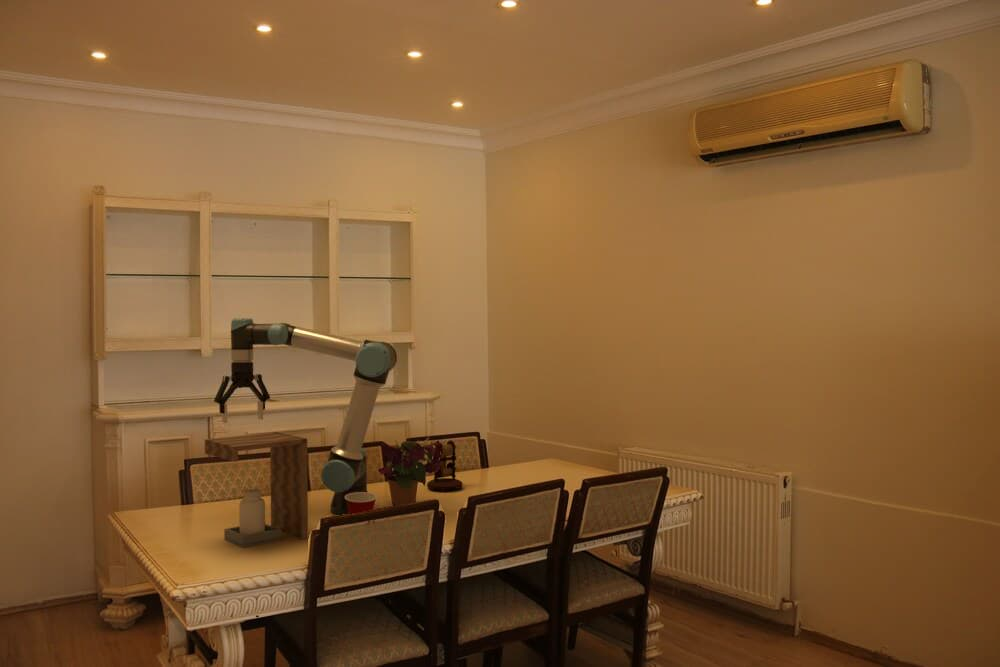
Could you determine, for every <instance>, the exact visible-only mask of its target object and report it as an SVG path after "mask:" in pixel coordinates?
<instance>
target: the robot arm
mask: <svg viewBox="0 0 1000 667" xmlns="http://www.w3.org/2000/svg"><path fill="white" fill-rule="evenodd" d="M255 345H256V346H257V345H258V346H259V345H260V346H261V345H262V346H281V345H284V346H287V347H294V348H299V349H301V350H307V351H311V352H316V353H319V354H324V355H327V356H332V357H336V358H341V359H343V360H344V359H346V360H349V361H354V362H355V368H354V371H353V374H352V375H353V377H354V379H355V384H354V387H353V390H352V394H351V397H350V399H349V403H348V407H347V410H346V413H345V418H344V419H343V424H342V428H341V430H340V434H339V436H338V440H337V444H336V445H335V446H333V447H332V448H330V451H329V455H328V458H327V462H326V463H325V464H324V465H323V467H322V469H321V472H320V478H321V482H322V484H323V485H324V486H325V488H326V489H328V490H329V491H331V492H333V496H332V499H331V502H330V508H329V509H330V513H331V514H333V515H336V516H337V515H338V516H341V515H340V514H348V513H349V511H348V506H347V502H346V500H345V496H346V495H347V494H350V493H356V492H367V493H369V492H368V472H367V471H368V455H367V450H365V449H363V444H364V441H365V438H366V434H367V431H368V428H369V426H370V425H369V424H370V422H371V418H372V415H373V411H374V407H375V405H376V401H377V398H378V394H379V392H380V388H381V387H383V386H385V385H386V384H387V379H388V376H389V374H390V372H391V371H392V370H393V369H394V368H395V366H396V364H397V362H398V354H397V351H396V349H395V347H393V345H392V344H390V343H389V342H386V341H377V340H369V339H364V340H362V341H361V340H357V339H352V338H348V337H343V336H339V335H335V334H331V333H327V332H322V331H318V330H314V329H309V328H306V327H305V328H304V327H301V326H294V325H291V324H289V323H286V322H280V323H277V322H276V323H275V322H274V323H254V319H253V318H251V317H249V318H244V317H243V318H241V317H239V318H237V317H236V318H232V320H231V323H230V351H231V352H230V355H231V356H230V357H231V358H230V359H231V361H232V362H231V363H230V364H231V367H230V368H231V370H230V371H231V375H230V376H228V375H222V379H221V380H222V381H221V383H220V386H219V388H218V391H217V393H216V395H215V397H214V399H213V402H214V403H217V404H219V405H218V406H219V414H221V423H223V424H228V404H227V402H228V400H229V399H230V398H231V396H232V395H233V393H234V392H235V391H236V390H237V389H243V388H249V390H251V391H252V393H253V394H254V395H255V396H256V397H257V398H258V400H257V420H259V421H260V420H261V421H262V420H264V411H265V410H266V401H268V400H270V399H271V396H270V393H269V392H268V388H267V387H266V385H265V383H264V381H263V376H262V374H261V373H256V374H254V362H253V361H254V346H255ZM254 380H255V381H256V384H257V385H258V388H259V389H258V388H257V387H256V385H255V384H254V382H253V381H254ZM230 382H231V384H230V385H229V383H230ZM228 386H229V388H227V387H228ZM226 389H227V390H226ZM260 391H261V392H260Z"/></svg>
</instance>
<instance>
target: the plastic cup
mask: <svg viewBox="0 0 1000 667" xmlns="http://www.w3.org/2000/svg"><path fill="white" fill-rule="evenodd" d="M377 499H378V495H376V494H375V493H371V492H368V493H367V492H356V493H350V494H347V495H346V496H345V500H346V502H347V506H348V511H349V514H352V513H358V512H363V511H369V510H373V511H374V507H375V502H376V500H377Z"/></svg>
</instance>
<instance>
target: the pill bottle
mask: <svg viewBox="0 0 1000 667" xmlns="http://www.w3.org/2000/svg"><path fill="white" fill-rule="evenodd" d="M261 495H262V490H261V489H258V488H251V489H244V491H243V499H241V500H240V502H239V503H238V504H239V506H238V507H239V509H238V510H239V513H238V514H239V522H238V523H239V526H240V534H242V535H249V534H255V533H260V532H265V524H266V503H265V502H266V501H265V500H264V498H262V496H261Z"/></svg>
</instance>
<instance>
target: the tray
mask: <svg viewBox="0 0 1000 667" xmlns="http://www.w3.org/2000/svg"><path fill="white" fill-rule="evenodd" d="M223 536H224V541H226V542H228V543H231V544H233V545H236V546H238V547H240V548H243V549H244V548H248V547H253V546H254V547H255V546H260V545H264V544H269V543H274V542H280V541H281V540H282V539H281V538H282V532H281V529H278V528H276V527H273V526H271V524H267V523H265V532H260V533H255V534H249V535H242V534H240V525H239V526H233V527H228V528H224V535H223Z"/></svg>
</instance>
